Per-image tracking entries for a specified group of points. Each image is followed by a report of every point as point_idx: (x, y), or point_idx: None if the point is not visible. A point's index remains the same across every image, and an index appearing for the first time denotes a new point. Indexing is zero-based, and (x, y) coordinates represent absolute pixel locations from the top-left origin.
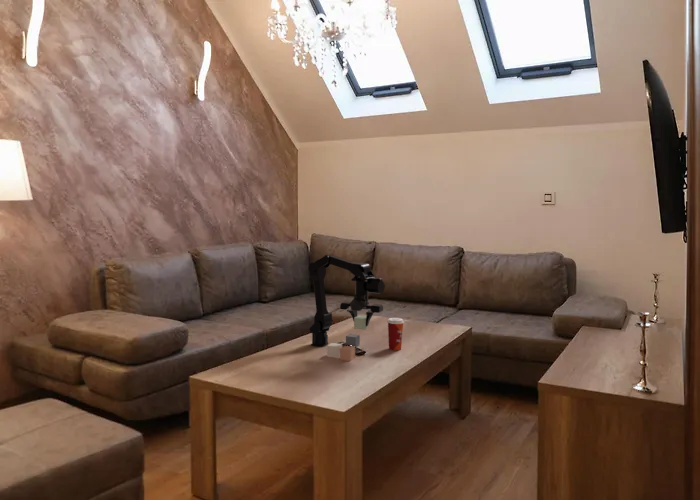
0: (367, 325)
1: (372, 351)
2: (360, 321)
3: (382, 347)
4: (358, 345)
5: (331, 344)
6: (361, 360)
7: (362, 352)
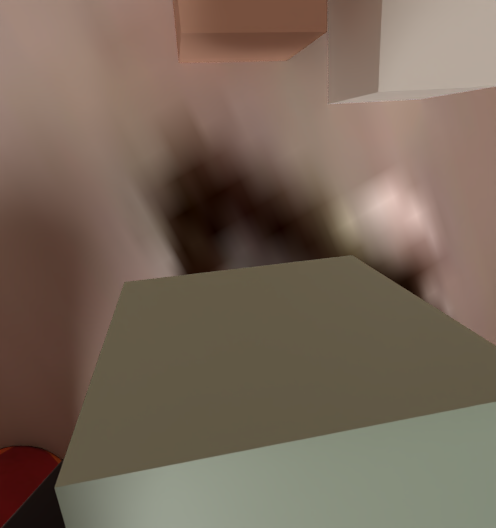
0: None
1: None
2: (251, 360)
3: None
4: None
5: (484, 14)
6: (77, 5)
7: (203, 266)
